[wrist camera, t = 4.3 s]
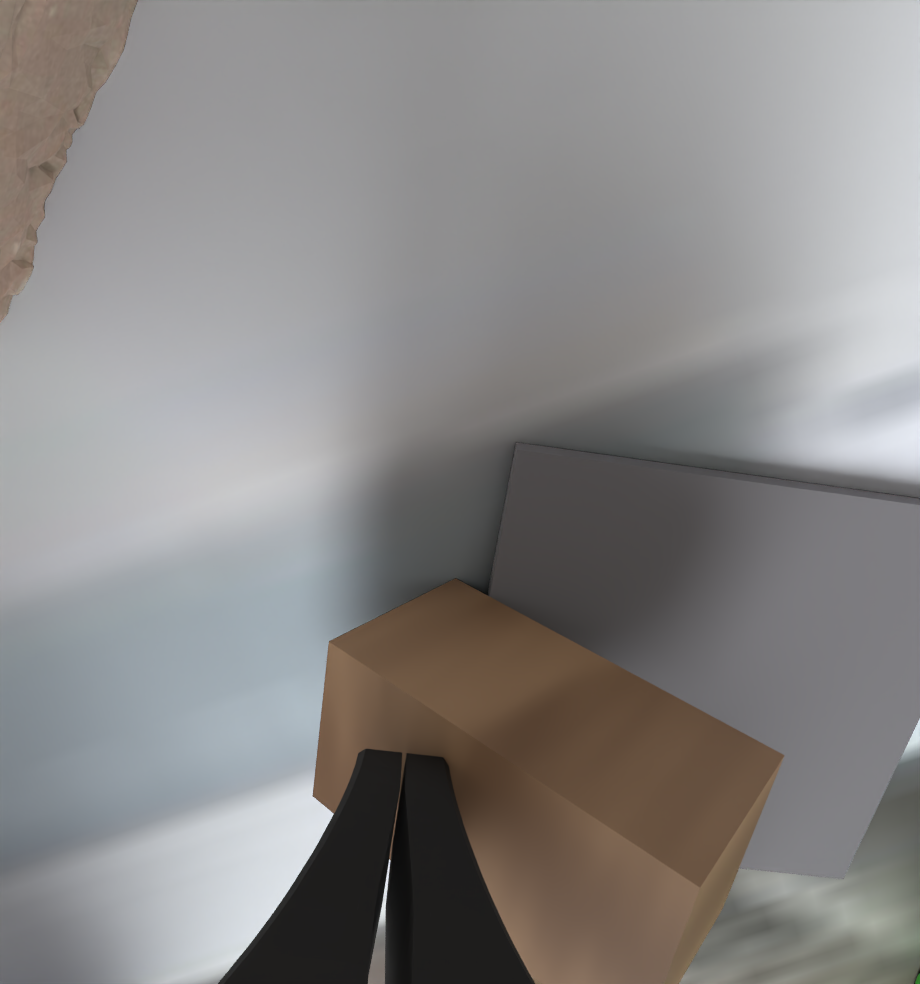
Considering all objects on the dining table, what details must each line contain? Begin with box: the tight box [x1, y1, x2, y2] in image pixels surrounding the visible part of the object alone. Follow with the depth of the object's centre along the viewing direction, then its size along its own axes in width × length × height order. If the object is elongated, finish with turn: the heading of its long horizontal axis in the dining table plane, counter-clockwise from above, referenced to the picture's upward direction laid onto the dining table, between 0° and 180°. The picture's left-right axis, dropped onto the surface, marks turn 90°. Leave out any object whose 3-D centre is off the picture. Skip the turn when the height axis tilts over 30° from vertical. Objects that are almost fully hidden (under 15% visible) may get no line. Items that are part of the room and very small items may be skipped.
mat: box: [487, 442, 920, 879], centre depth 18 cm, size 10×10×1 cm
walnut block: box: [313, 578, 785, 984], centre depth 14 cm, size 4×4×7 cm
